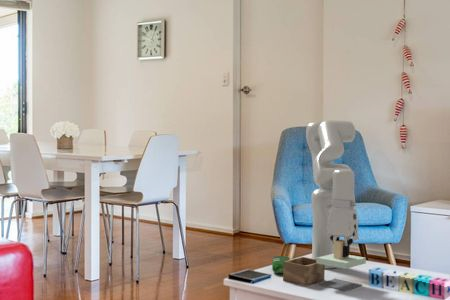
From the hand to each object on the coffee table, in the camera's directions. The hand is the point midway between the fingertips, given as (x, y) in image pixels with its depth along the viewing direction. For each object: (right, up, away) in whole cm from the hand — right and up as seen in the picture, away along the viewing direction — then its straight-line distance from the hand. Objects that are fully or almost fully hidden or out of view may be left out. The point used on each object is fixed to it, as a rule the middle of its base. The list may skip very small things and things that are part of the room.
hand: (341, 255), depth 204 cm
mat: (0, -11, +1) cm, 11 cm away
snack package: (-20, -10, +20) cm, 30 cm away
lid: (0, -3, 0) cm, 3 cm away
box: (-13, -10, +6) cm, 18 cm away
